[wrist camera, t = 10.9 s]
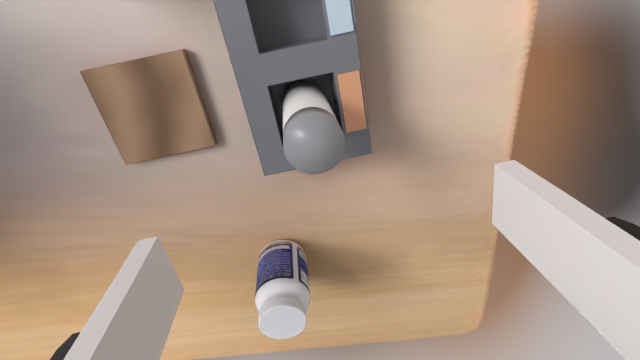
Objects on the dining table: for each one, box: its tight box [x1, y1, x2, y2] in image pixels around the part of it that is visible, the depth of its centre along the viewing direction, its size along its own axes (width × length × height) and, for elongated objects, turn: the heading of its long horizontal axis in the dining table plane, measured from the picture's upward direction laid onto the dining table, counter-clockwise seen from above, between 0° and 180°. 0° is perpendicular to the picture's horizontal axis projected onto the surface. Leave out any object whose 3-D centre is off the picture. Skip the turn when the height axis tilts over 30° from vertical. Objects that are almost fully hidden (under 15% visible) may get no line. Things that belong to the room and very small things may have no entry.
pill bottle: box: [255, 240, 310, 339], centre depth 37 cm, size 6×6×10 cm
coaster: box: [80, 49, 217, 165], centre depth 32 cm, size 9×9×1 cm
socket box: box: [213, 0, 372, 176], centre depth 30 cm, size 10×18×5 cm, turn 11°
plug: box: [283, 80, 345, 174], centre depth 27 cm, size 4×4×12 cm
